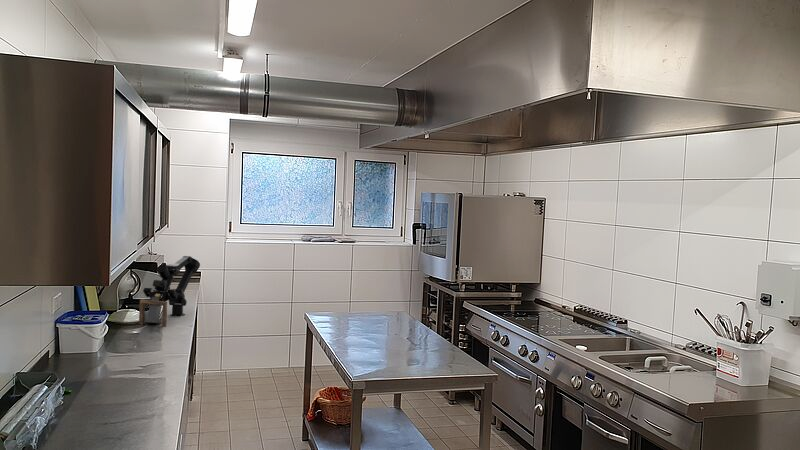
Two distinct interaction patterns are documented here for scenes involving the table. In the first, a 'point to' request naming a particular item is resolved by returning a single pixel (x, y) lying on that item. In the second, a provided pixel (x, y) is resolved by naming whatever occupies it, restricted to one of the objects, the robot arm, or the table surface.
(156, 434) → the table surface
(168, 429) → the table surface
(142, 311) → the door frame
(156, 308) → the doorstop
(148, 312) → the door
